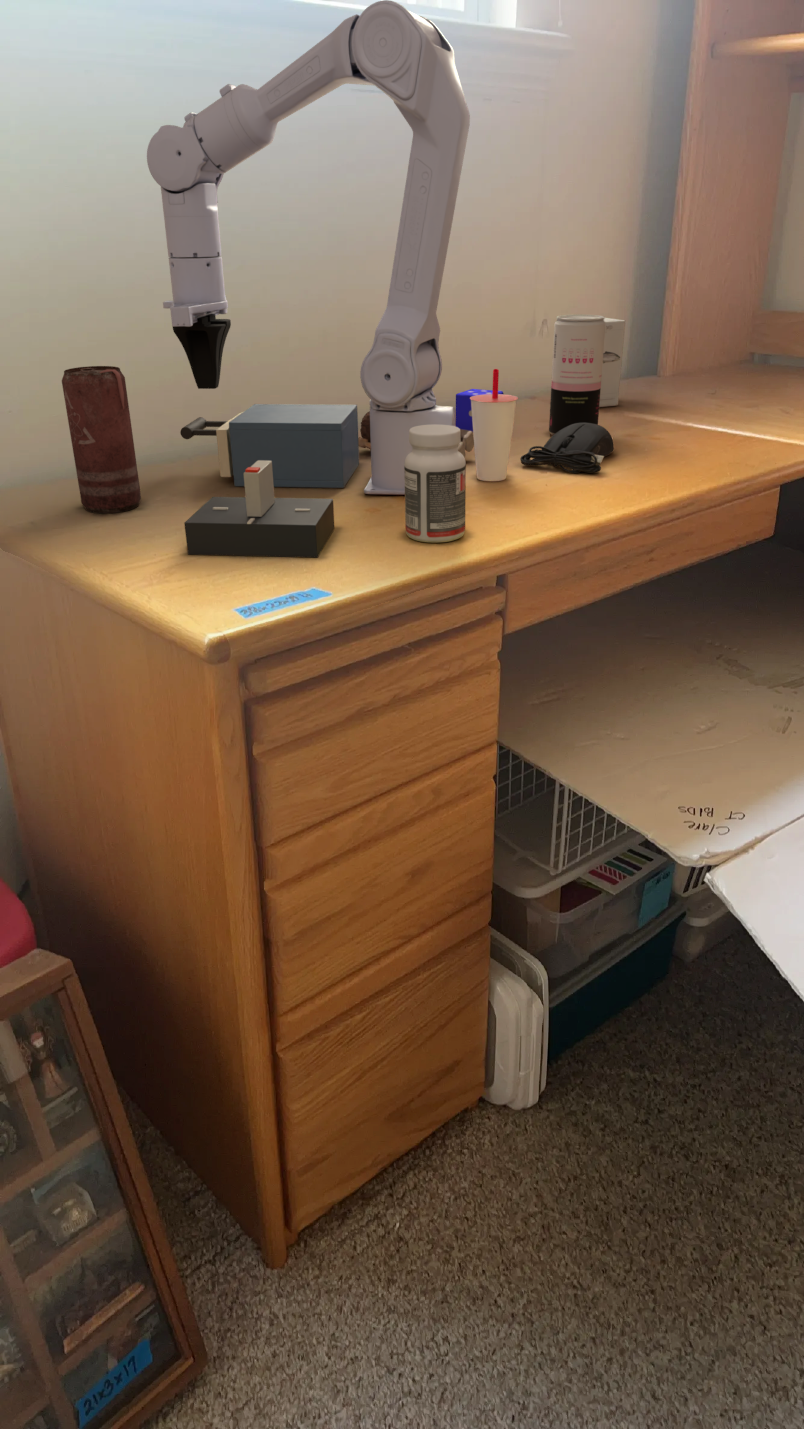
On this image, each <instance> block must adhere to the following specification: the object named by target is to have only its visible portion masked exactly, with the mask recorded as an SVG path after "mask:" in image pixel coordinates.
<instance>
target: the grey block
mask: <svg viewBox="0 0 804 1429" xmlns="http://www.w3.org/2000/svg"><path fill="white" fill-rule="evenodd" d="M244 485H245V486H244V495H245V496H244V497H246V508H247V516H248V517H262V516H263V515H264V514H265V513H266V512H267V510H268V509H269V508H270V507H271V506H272V505H273V504H274V503H275V499H274V498H275V490H274V489H275V487H274V485H273V471H272V461H264V460H258V461H257V462H255V463H254V464H253V465H252V466H251V467H248V468H247V469H246V470H245V472H244Z"/></svg>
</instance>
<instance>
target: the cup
mask: <svg viewBox="0 0 804 1429" xmlns="http://www.w3.org/2000/svg"><path fill="white" fill-rule="evenodd" d="M499 375H500V371H499V369H498V368H494V369H493V370H492V390H493V392H492V394H483V395H476V396H472V397H470V399H471V408H472V422H473V438H474V447H473V450H474V462H475V472H476V473H475V474H476V479H478V481H479V480H480V481H484V482H500V481H504V480H506V479H507V475H508V469H509V461H510V455H511V454H510V453H511V446H512V441H513V440H512V439H513V432H514V424H515V423H514V422H515V418H516V417H515V416H516V408H517V401H518V399H519V397H518V396H516V395H513V394H512V395H511V394H504V393H503V394H498V391H499V378H500V376H499Z"/></svg>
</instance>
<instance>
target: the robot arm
mask: <svg viewBox="0 0 804 1429" xmlns="http://www.w3.org/2000/svg"><path fill="white" fill-rule="evenodd" d="M346 84H347V85H348V84H349V85H361V86H374V87H376V88H377V89H379V90H380V91H381V92H383V93H384V94H385V95H386V96H388V97H389V99H391V100H392V101H393V103H394V105H395V107H396V108H397V109H398V111H399V112H400V113H401V115H402V117H403V118H404V120H405V121H406V122H407V125H408V126H409V127H410V129H411V130H412V139H411V147H410V152H409V159H408V160H409V161H408V164H407V165H408V166H407V173H406V179H405V186H404V191H403V198H402V205H401V212H400V218H399V225H398V232H397V238H396V243H395V251H394V258H393V264H392V269H391V275H390V283H389V289H388V296H387V303H386V307H385V309H384V312H383V313H382V315H381V318H380V320H379V321H378V324H377V326H376V328H375V331H374V338H373V343H372V345H371V348H370V350H369V351H368V352H367V354H366V355H365V357H364V358H363V360H362V363H361V366H360V371H359V372H360V373H359V374H360V376H359V377H360V382H361V386H362V389H363V391H364V393H365V394H366V396H367V397H368V398H369V399H370V400H369V401H368V402H369V411H370V439H371V451H370V468H371V470H370V471H371V472H370V473H371V475H370V476H371V477H370V479H369V480H368V482H367V483H366V486H365V487H364V489H363V494H365V495H393V496H395V495H396V496H399V495H400V496H403V495H404V496H405V471H404V464H405V459H406V457H407V455H408V454H409V453H411V452H412V446H411V444H410V443H409V430H410V429H411V428H412V427H415V426H420V425H431V424H440V425H450V426H455V418H456V408H455V407H454V406H447V405H438V404H437V397H436V395H435V393H434V390H433V388H434V387H435V386H436V385H437V384H438V383H439V381H440V378H441V375H442V370H443V360H442V356H441V352H440V347H439V342H440V335H441V326H440V323H439V320H438V316H437V309H438V305H439V299H440V294H441V288H442V282H443V276H444V271H445V264H446V260H447V253H448V248H449V243H450V237H451V231H452V225H453V221H454V215H455V210H456V204H457V198H458V192H459V186H460V181H461V175H462V171H463V164H464V159H465V153H466V148H467V142H468V136H469V132H470V131H469V130H470V124H471V123H470V122H471V114H470V111H469V107H468V102H467V100H466V97H465V93H464V90H463V86H462V84H461V80H460V77H459V73H458V70H457V67H456V61H455V50H454V48H453V46H452V44H450V42H449V41H448V40H447V38H446V37H445V35H444V34H443V33H442V31H441V30H440V29H439V28H438V26H437V25H436V24H435V23H434V22H433V21H431V20H430V19H428V18H427V17H424V16H422V15H417V14H416V13H415V12H414V13H413V12H412V11H410V10H408V9H407V8H406V7H405V6H404V5H402V4H400V3H399V2H397V1H393V0H379V1H375V2H373V3H372V4H370V5H368V6H367V7H366V8H365V9H364V10H363V11H362V12H361V13H360V15H359V14H353V15H352V16H349V17H347V18H345V19H343V21H342V22H341V23H340V24H339V25H337V27H335V29H333V31H331V32H330V33H329V34H327V36H325V37H324V38H322V39H321V40H320V41H319V42H317V43H316V44H315V45H313V46H311V48H310V49H308V50H307V51H306V52H305V53H303V54H302V55H300V56H299V57H297V58H296V59H295V60H293V62H291V63H290V64H289V65H288V66H286V67H285V68H283V69H282V70H281V71H279V73H277V74H275V75H274V76H273V77H272V78H271V79H269V80H268V81H266V82H265V83H264V84H262V85H261V86H260V87H259V88H258V89H257V88H255V87H252V86H250V85H248V84H244V83H241V84H238V85H237V86H236V85H235V84H230V83H227V84H226V85H224V86H223V87H221V88H220V89H219V94H220V96H221V97H220V98H218V99H217V100H215V101H214V102H212V103H211V104H210V105H208V106H207V107H205V108H203V110H201V111H199V112H198V113H196V112H189V113H187V114H186V115H185V116H184V121H185V122H184V123H183V126H181V127H180V126H178V125H173V124H172V125H171V124H164V125H162V126H160V127H159V129H158V130H157V132H155V133H154V135H152V137H151V138H150V140H149V142H148V145H147V148H146V149H147V150H146V163H147V167H148V170H149V173H150V175H151V177H152V178H153V180H154V181H155V182H156V184H158V185H159V186H160V195H161V203H162V211H163V220H164V229H165V238H166V248H167V258H168V265H169V274H170V275H169V276H170V284H171V293H172V300H165V301H163V302H162V306H163V309H170V318H171V326H172V331H173V334H174V335H175V336H176V337H177V339H178V340H179V342H180V345H182V348H183V349H184V352H185V355H186V357H187V360H188V363H189V366H190V369H191V372H192V375H193V379H194V382H195V384H196V387H197V389H198V390H215V389H218V388H219V384H220V380H221V379H220V378H221V372H222V371H221V370H222V361H223V359H222V358H223V352H224V348H225V345H226V344H225V343H226V340H227V336H228V333H229V332H230V330H231V326H232V322H231V319H229V318H216V316H218V315H219V316H220V315H226V314H228V309H229V302H228V299H227V296H226V288H225V287H226V286H225V277H224V265H223V263H224V262H223V254H222V253H223V252H222V244H221V242H222V241H221V230H220V221H219V220H220V218H219V208H218V203H219V200H218V188H219V186H220V184H221V182H222V180H223V178H224V175H225V174H226V173H227V172H229V171H231V170H232V169H234V168H235V167H237V166H238V165H240V164H241V163H243V162H244V161H245V160H246V161H247V159H249V158H250V157H252V156H253V155H255V154H257V153H258V152H260V151H261V150H263V149H265V148H266V147H268V146H269V145H271V144H272V143H273V142H274V140H275V136H276V130H277V126H278V123H279V122H281V121H282V120H284V119H286V118H288V117H289V116H292V115H293V114H294V113H296V112H298V111H300V110H301V109H303V108H305V107H307V106H309V105H310V104H312V103H314V102H315V101H317V100H319V99H321V98H323V97H324V96H326V95H327V94H329V93H331V92H333V91H334V90H336V89H338V88H339V87H341V86H344V85H346Z"/></svg>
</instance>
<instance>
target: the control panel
mask: <svg viewBox="0 0 804 1429" xmlns="http://www.w3.org/2000/svg"><path fill="white" fill-rule="evenodd" d="M274 499H275V503H274V504H273V505H272V506H271V507H270V508H269V509H268V510H267V512H266V513H265V514H264V515H263V516H262V517H248V516H247V508H246V496H212V497H211V498H210V499H208V500H207V501H206V502H205V503H204V504H203V505H201V507H199V508H198V510H196V511H195V512H193V514H192V515H191V516H190V517H188V518H187V519H186V520H185V521H184V523H183V524H184V532H185V541H186V549H187V550H186V551H187V555H189V556H190V555H191V556H193V555H194V556H229V557H231V556H232V557H233V556H234V557H273V558H276V557H277V558H318V557H319V555H321V552H322V550H323V549H324V547H325V546H326V544H327V542H328V541H329V539H330V537H331V535H332V533H333V532H334V531H335V511H334V510H335V509H334V508H335V507H334V498H319V497H318V498H317V497H316V498H314V497H313V498H312V497H309V498H307V497H274Z"/></svg>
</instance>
